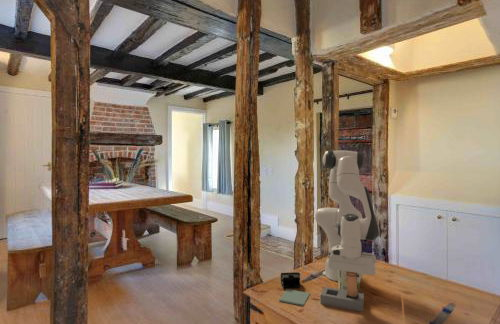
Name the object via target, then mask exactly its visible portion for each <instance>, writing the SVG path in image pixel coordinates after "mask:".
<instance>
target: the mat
mask: <svg viewBox="0 0 500 324" xmlns="http://www.w3.org/2000/svg"><path fill="white" fill-rule="evenodd" d="M310 296H311V293H310V292H307V291H300V290H297V289H285V291H284V292H283V294H282V295H281V297H280V298H279V299H278V302H282V303H285V304H291V305H295V304H296V306H300V307H305V304H306V303H307V301H308V300H309V298H310Z"/></svg>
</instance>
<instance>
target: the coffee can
mask: <svg viewBox="0 0 500 324" xmlns="http://www.w3.org/2000/svg"><path fill="white" fill-rule="evenodd" d="M346 272H347V271H344V274H345V275H346V276H347V274H346ZM359 276H360V275H359V273H357V277H359ZM337 282H338V284H337V285H338V289H341V290H347V281H346V280H343V276H342V274H341V271H340V270H338V281H337ZM357 292H359V293H360V283H358V282H357Z"/></svg>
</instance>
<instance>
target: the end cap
mask: <svg viewBox="0 0 500 324" xmlns="http://www.w3.org/2000/svg"><path fill="white" fill-rule="evenodd" d="M280 284H281V286H282V289H283V290H287V289H290V290H297V289H298V290H300V289H301V284H302V283H301V273H300V271H299V272H298V271H297V272H280Z"/></svg>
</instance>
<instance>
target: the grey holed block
mask: <svg viewBox="0 0 500 324" xmlns="http://www.w3.org/2000/svg"><path fill="white" fill-rule="evenodd" d="M319 296H320V304H321V305H326V306H331V307H337V308H340V309H346V310H351V311H356V312H362V313H363V310H364V304H365V293H364V292H360V291H359V292H357V296H355V297H351V296H349V295H347V290H341V289H339V288H335V287H329V286H324V287H323V288H322V291H321V293H320V295H319Z"/></svg>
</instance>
